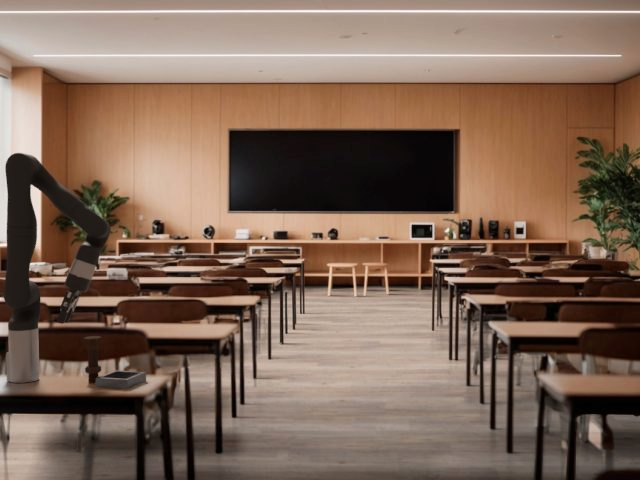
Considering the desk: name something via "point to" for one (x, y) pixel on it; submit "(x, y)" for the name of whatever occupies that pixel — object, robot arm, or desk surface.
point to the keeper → (120, 379)
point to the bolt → (92, 357)
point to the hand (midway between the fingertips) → (62, 322)
